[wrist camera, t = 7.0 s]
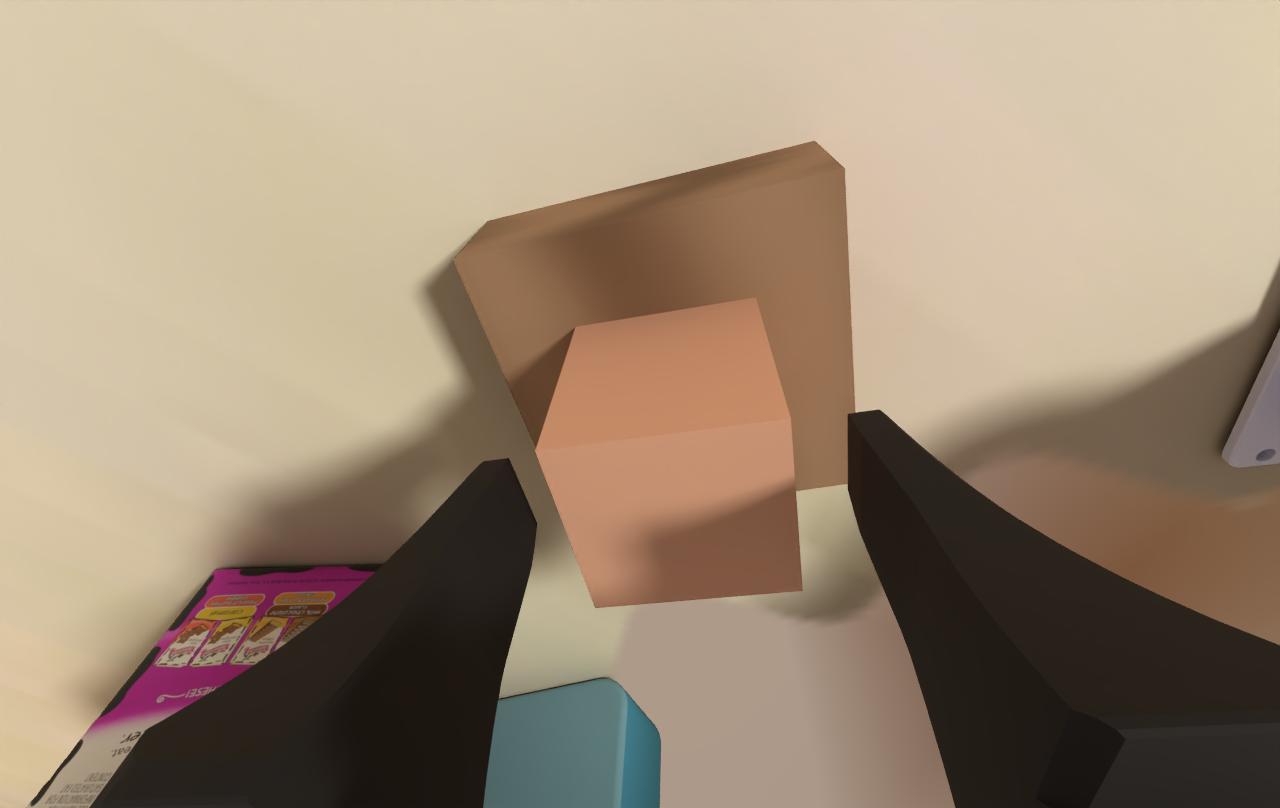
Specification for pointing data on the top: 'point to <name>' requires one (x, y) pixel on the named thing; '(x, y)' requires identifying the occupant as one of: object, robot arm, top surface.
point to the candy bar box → (199, 662)
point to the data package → (573, 750)
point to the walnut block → (685, 281)
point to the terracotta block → (674, 458)
